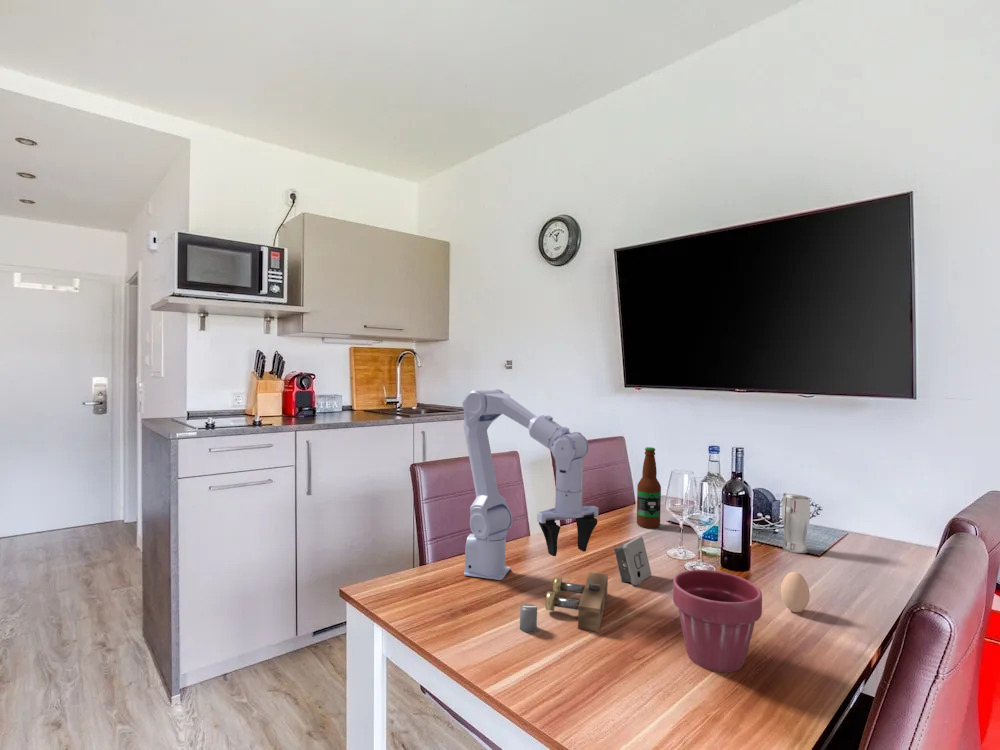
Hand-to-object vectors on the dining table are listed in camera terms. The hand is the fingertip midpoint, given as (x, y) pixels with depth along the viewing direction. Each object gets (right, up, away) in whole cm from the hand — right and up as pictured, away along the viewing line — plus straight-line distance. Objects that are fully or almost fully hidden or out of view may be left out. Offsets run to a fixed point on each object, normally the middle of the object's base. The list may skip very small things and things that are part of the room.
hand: (567, 552), depth 115 cm
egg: (+47, -11, -4) cm, 48 cm away
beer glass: (+69, -11, +35) cm, 78 cm away
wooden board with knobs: (+5, -10, -5) cm, 12 cm away
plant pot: (+23, -11, -23) cm, 34 cm away
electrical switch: (+17, -10, +12) cm, 23 cm away
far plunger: (+1, -9, 0) cm, 9 cm away
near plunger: (-1, -9, -8) cm, 12 cm away
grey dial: (-9, -10, -14) cm, 19 cm away
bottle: (+33, -10, +56) cm, 66 cm away
